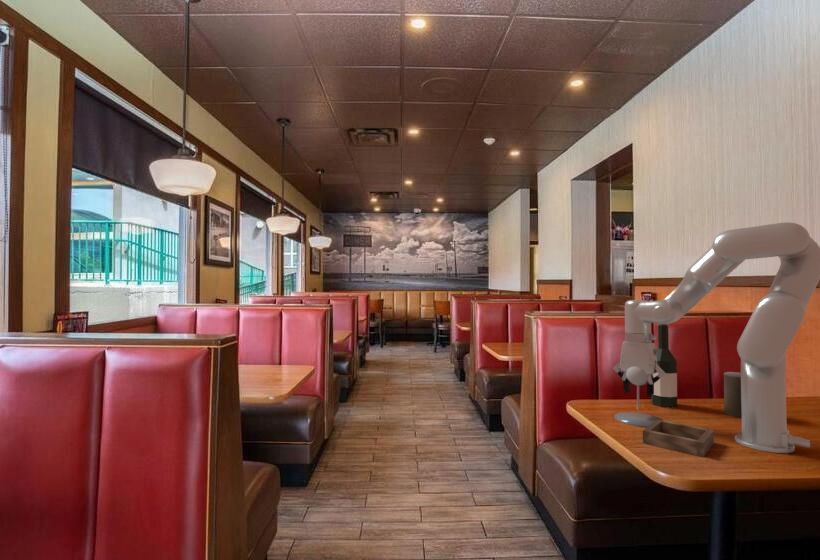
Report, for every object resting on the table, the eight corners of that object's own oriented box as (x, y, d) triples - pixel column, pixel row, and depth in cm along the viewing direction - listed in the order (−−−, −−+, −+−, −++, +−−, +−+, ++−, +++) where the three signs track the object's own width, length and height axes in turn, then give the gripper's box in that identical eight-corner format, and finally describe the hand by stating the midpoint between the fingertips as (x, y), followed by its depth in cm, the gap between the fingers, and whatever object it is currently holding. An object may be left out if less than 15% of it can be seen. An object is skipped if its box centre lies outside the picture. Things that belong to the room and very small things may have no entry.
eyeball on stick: (644, 406, 141) (644, 361, 141) (654, 413, 134) (655, 365, 134) (622, 406, 142) (622, 360, 142) (631, 412, 135) (631, 364, 135)
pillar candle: (746, 420, 138) (745, 374, 138) (717, 412, 147) (716, 368, 148) (768, 418, 140) (767, 372, 141) (738, 410, 150) (737, 367, 150)
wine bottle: (682, 409, 151) (681, 324, 152) (659, 409, 151) (657, 324, 152) (669, 402, 160) (667, 322, 160) (646, 402, 160) (645, 322, 160)
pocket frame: (714, 442, 118) (713, 430, 118) (703, 457, 108) (703, 443, 108) (657, 431, 128) (657, 419, 128) (642, 443, 118) (642, 430, 118)
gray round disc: (669, 420, 138) (669, 418, 138) (657, 431, 128) (657, 428, 128) (623, 412, 147) (623, 409, 148) (608, 421, 137) (608, 418, 137)
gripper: (671, 339, 135) (672, 397, 135) (614, 335, 147) (614, 388, 147) (665, 341, 129) (665, 401, 129) (606, 337, 141) (606, 391, 141)
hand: (638, 393), depth 138 cm, fingers closed on eyeball on stick, 5 cm apart
